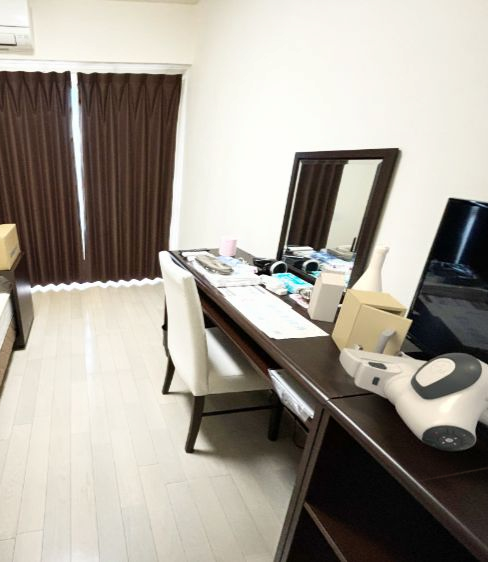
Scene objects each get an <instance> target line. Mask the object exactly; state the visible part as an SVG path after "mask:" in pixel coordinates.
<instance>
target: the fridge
mask: <svg viewBox="0 0 488 562" xmlns="http://www.w3.org/2000/svg"><path fill="white" fill-rule="evenodd" d="M361 305H367V306H370V307H373V308H376V309H379V310H382V311H385V312H388V313H391V314H395V315H398V316H401V317H404V318H405V316H406V314H407V311H408V308H407V307H406V306H404V305H403V304H402V303H401V302H400V301H398V300H397V299H396V298H395V297H394V296H392V295H391V294H390V293H387V292H382V293H380V292H371V291H363V290H354V289H351V288H347V289H346V292H345V295H344V298H343V301H342V304H341V306H340V310H339V313H338V316H337V318H336V322H335V324H334V327H333V330H332V333H331V338H332V340H333V342H334V343H335V345H336V346H337V348H338V350H339V351H340V352H341V351H342V350H343V349H344V348H346V347H347V344H348V341H349V338H350V336H351V333H352V330H353V327H354V325H355V322H356V319H357V316H358V314H359V311H360V308H361Z"/></svg>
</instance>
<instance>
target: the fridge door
mask: <svg viewBox="0 0 488 562" xmlns="http://www.w3.org/2000/svg"><path fill="white" fill-rule="evenodd" d="M412 323H413V319H410V318H407V317H405V316H404V317H401V316H398V315H395V314H391V313H388V312H385V311H382V310H379V309H376V308H373V307H370V306H367V305H361V308H360V311H359V314H358V316H357V319H356V322H355V325H354V327H353V330H352V333H351V336H350V338H349V341H348V344H347V347H346V348H349V349H353V347H354V344H358V345H362V347H363V350H362V351H367V352H373V353H379V354H385V355H391V356H393V354H394V353H395V351H400V350H401V348H402V346H403V343H404V341H405V339H406V337H407V334H408V333H409V330H410V328H411V326H412Z"/></svg>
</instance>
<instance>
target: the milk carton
mask: <svg viewBox="0 0 488 562" xmlns="http://www.w3.org/2000/svg"><path fill="white" fill-rule="evenodd" d="M345 273H346V271H341V270H332V269H331V270H330V269H321V272H320V273H319V274H318V275H317V276H316V279H315V283H314V286H313V290H312V292H311V296H310V298H309V299H310V300H309V303H308V307H307V314H308V315H309V317H310V320H314V321H319V322H325V323H334V320H335V318H336V315H337V311H338V309H339V306H340V302H341V299H342V296H343V293H344V290H345V287H346V280H345Z"/></svg>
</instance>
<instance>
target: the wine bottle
mask: <svg viewBox="0 0 488 562" xmlns="http://www.w3.org/2000/svg"><path fill="white" fill-rule="evenodd" d="M373 251H374V252H373V255H372V258H371V260H370V262H369V265H368V267H367V269H366V270H365V272H364V273H363V274H362V275H361V276H360V278H358V280H357V281H356V282H355V283H354V284H353V285H352V287H351V288H350V289H354V290H363V291H371V292H380V293H383V284H382V269H383V266H384V264H385V260H386V258H387V257H386V256H387V254H389V251H390V246H389V245H386V244H377V245H375V247H374V250H373Z"/></svg>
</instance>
